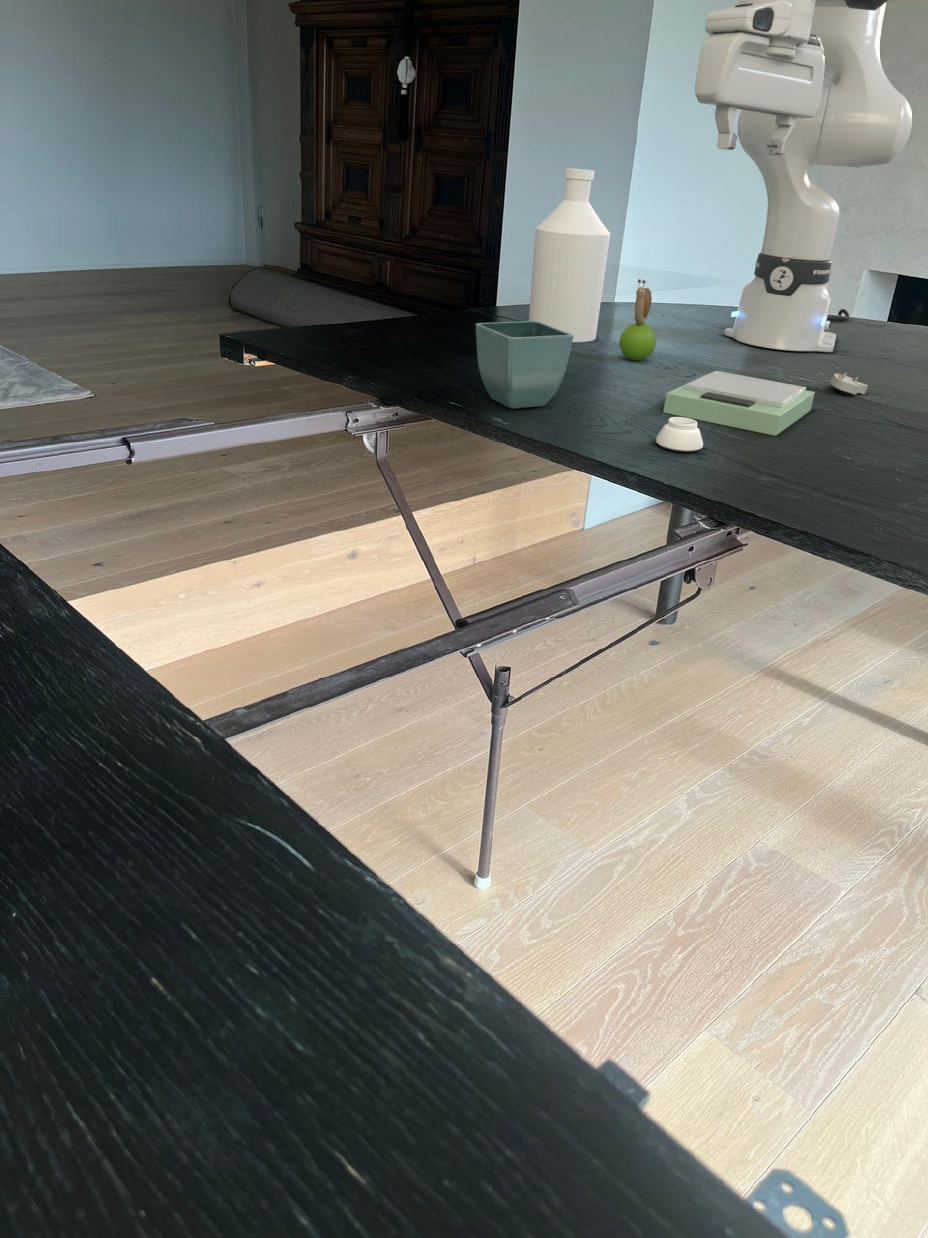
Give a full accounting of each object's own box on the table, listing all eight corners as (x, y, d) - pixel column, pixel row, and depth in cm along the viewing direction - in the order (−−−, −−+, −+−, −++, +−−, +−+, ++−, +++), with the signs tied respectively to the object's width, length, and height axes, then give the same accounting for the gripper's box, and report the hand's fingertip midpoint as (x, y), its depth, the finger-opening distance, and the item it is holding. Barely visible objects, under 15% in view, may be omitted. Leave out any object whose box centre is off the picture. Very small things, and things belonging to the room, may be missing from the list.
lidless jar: (646, 443, 105) (679, 456, 101) (650, 417, 104) (684, 429, 100) (677, 438, 108) (711, 450, 104) (681, 412, 106) (716, 424, 103)
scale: (707, 390, 130) (711, 368, 129) (810, 410, 124) (816, 387, 122) (663, 412, 118) (667, 388, 116) (775, 435, 111) (781, 410, 110)
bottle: (528, 325, 165) (544, 165, 153) (597, 332, 164) (618, 171, 152) (523, 338, 154) (538, 167, 143) (596, 345, 153) (618, 173, 142)
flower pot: (503, 415, 111) (510, 336, 107) (468, 396, 118) (473, 321, 114) (567, 410, 115) (575, 334, 111) (529, 392, 122) (536, 320, 118)
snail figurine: (611, 361, 143) (623, 277, 137) (621, 354, 148) (633, 272, 142) (647, 367, 141) (660, 281, 135) (656, 359, 146) (669, 276, 141)
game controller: (873, 397, 133) (878, 378, 132) (796, 396, 131) (801, 376, 130) (852, 387, 138) (856, 368, 136) (778, 385, 136) (782, 367, 134)
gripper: (804, 38, 123) (781, 157, 129) (696, 12, 112) (676, 144, 117) (846, 35, 118) (820, 159, 124) (739, 8, 107) (716, 146, 113)
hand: (750, 152), depth 121 cm, fingers open, 8 cm apart
